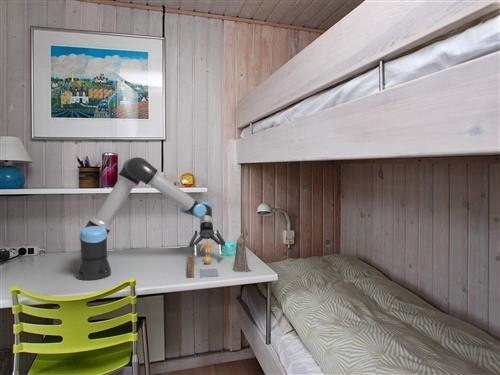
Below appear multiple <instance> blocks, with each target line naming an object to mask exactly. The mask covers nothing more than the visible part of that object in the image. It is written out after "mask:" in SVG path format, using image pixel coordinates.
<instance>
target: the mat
mask: <svg viewBox="0 0 500 375" xmlns="http://www.w3.org/2000/svg"><path fill="white" fill-rule="evenodd" d="M199 275H200V278H211V277H212V278H213V277H220V275H219V272H218V269H217V268H207V269H206V268H205V269H199Z"/></svg>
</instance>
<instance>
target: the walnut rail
mask: <svg viewBox="0 0 500 375" xmlns="http://www.w3.org/2000/svg"><path fill="white" fill-rule="evenodd" d="M187 278H188V279H191V278H193V279H194V278H195V263H194V255H189V256H187Z"/></svg>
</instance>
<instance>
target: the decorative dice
mask: <svg viewBox="0 0 500 375" xmlns="http://www.w3.org/2000/svg"><path fill="white" fill-rule="evenodd" d="M224 241H225V245H223V246H222V247H223V250H222V251H221V256H223V257H235V254H236V243H237V242H235V241H234V240H224Z"/></svg>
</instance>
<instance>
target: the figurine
mask: <svg viewBox="0 0 500 375" xmlns="http://www.w3.org/2000/svg"><path fill="white" fill-rule="evenodd" d="M203 247H206V248H205V251H204V252H205V258H204V260H203V262H204V264H205V265H210V264H211V263H212V258H211V256H210V254H211V248H210V247H213V249H214V251H216V248H215V245H213V244H211V243H209V242H208V241H207V242H206V243H204V244H202V246H201V247H200V252H201V251H202V249H203Z"/></svg>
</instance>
